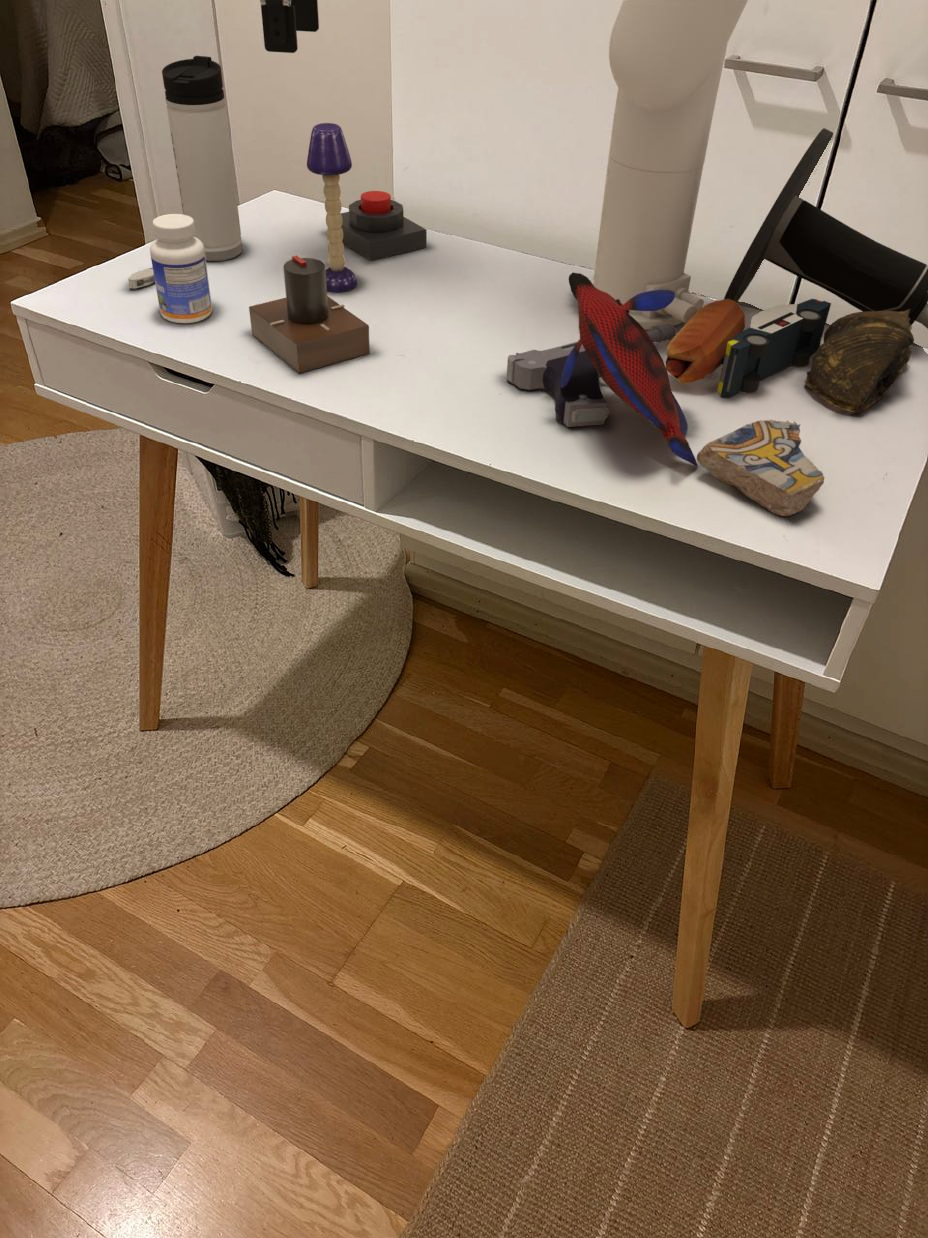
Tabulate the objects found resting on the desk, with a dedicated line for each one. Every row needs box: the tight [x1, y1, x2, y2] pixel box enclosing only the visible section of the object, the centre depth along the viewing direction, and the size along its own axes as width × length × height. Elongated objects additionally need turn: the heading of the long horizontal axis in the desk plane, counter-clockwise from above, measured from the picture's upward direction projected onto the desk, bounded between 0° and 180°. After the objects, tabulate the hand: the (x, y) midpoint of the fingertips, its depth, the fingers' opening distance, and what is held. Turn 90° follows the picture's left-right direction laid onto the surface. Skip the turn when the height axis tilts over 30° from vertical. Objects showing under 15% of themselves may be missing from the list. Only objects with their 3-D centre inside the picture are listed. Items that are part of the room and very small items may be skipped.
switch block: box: [340, 199, 428, 261], centre depth 121 cm, size 10×8×4 cm
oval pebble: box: [127, 267, 155, 289], centre depth 111 cm, size 6×2×1 cm, turn 152°
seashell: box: [803, 309, 915, 413], centre depth 97 cm, size 16×9×7 cm, turn 148°
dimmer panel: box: [248, 295, 371, 374], centre depth 100 cm, size 10×8×3 cm
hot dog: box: [665, 298, 746, 384], centre depth 98 cm, size 5×13×5 cm
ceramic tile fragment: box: [696, 419, 825, 517], centre depth 83 cm, size 12×3×10 cm
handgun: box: [505, 324, 677, 428], centre depth 96 cm, size 3×20×12 cm
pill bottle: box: [149, 213, 213, 324], centre depth 102 cm, size 5×5×10 cm
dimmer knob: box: [282, 255, 328, 324], centre depth 97 cm, size 4×4×5 cm
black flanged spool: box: [723, 127, 928, 330], centre depth 103 cm, size 19×19×25 cm
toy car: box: [716, 298, 832, 399], centre depth 98 cm, size 5×16×5 cm
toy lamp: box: [306, 122, 358, 293], centre depth 106 cm, size 5×5×17 cm
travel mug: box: [161, 55, 244, 262], centre depth 112 cm, size 6×7×20 cm
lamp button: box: [360, 190, 392, 214], centre depth 119 cm, size 4×4×2 cm
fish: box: [560, 272, 699, 468], centre depth 87 cm, size 20×12×15 cm
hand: (293, 40), depth 102 cm, fingers open, 9 cm apart
